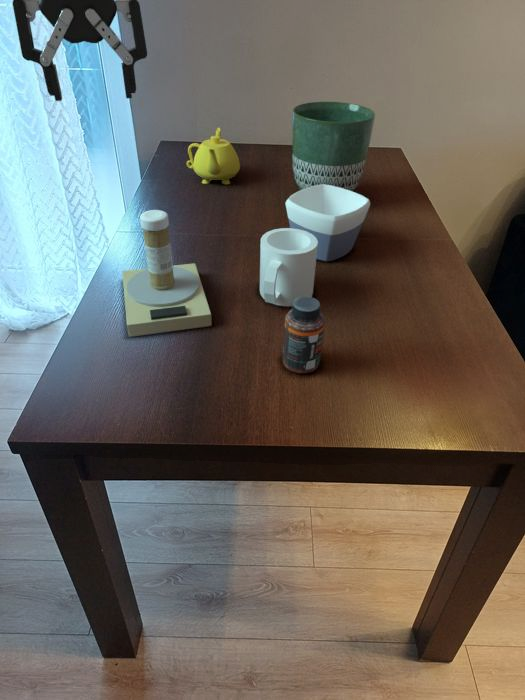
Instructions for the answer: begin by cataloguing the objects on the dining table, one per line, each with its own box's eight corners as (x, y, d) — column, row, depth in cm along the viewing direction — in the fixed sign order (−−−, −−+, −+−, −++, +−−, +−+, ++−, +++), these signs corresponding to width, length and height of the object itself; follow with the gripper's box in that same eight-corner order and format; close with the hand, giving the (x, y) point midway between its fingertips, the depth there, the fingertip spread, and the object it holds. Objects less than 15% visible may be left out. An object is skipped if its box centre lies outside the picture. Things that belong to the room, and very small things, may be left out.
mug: (297, 321, 87) (301, 268, 80) (244, 308, 90) (244, 255, 83) (319, 284, 97) (324, 234, 90) (270, 273, 100) (272, 224, 93)
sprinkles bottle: (170, 275, 92) (163, 207, 84) (178, 287, 89) (171, 217, 81) (146, 281, 91) (136, 211, 82) (153, 293, 87) (143, 222, 79)
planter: (362, 188, 137) (375, 104, 123) (361, 217, 122) (375, 125, 108) (292, 182, 139) (297, 99, 125) (283, 210, 124) (287, 119, 110)
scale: (129, 337, 83) (126, 322, 81) (124, 282, 96) (121, 268, 94) (211, 325, 85) (210, 311, 84) (195, 274, 99) (194, 260, 97)
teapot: (192, 166, 148) (189, 125, 141) (242, 167, 148) (241, 126, 140) (182, 191, 132) (178, 147, 125) (237, 193, 132) (237, 148, 125)
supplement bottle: (321, 376, 76) (328, 315, 69) (282, 375, 76) (286, 314, 69) (318, 351, 81) (325, 292, 73) (281, 350, 81) (285, 291, 73)
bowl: (273, 247, 108) (275, 198, 101) (317, 226, 117) (321, 180, 110) (330, 273, 100) (336, 221, 93) (371, 248, 109) (380, 199, 102)
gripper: (132, -66, 57) (148, 90, 67) (-2, -71, 54) (37, 93, 64) (136, -68, 51) (153, 103, 61) (-13, -74, 48) (31, 107, 58)
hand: (94, 98), depth 63 cm, fingers open, 8 cm apart
